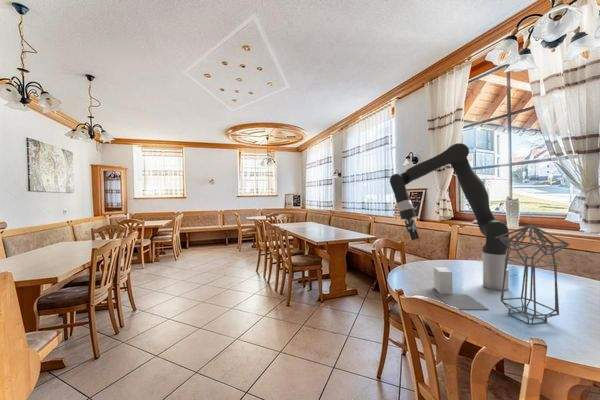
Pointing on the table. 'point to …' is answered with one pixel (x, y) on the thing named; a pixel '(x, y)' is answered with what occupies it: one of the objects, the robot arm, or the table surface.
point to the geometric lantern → (539, 234)
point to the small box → (443, 280)
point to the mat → (461, 301)
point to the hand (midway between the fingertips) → (415, 239)
